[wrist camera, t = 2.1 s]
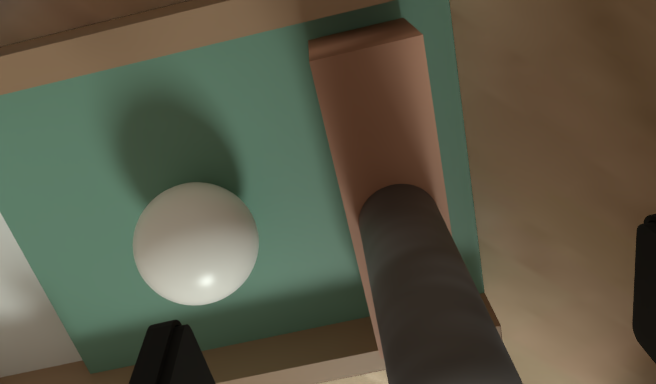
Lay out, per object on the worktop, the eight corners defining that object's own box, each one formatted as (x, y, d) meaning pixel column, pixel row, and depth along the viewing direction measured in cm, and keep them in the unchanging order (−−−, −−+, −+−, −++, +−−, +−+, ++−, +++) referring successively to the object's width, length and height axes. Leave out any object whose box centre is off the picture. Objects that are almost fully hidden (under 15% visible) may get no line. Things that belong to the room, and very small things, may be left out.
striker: (403, 17, 17) (521, 121, 8) (446, 288, 21) (552, 555, 12) (308, 40, 17) (314, 168, 8) (370, 304, 21) (420, 578, 12)
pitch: (431, -59, 17) (488, -53, 12) (476, 290, 24) (527, 398, 18) (-228, 103, 19) (-441, 173, 13) (-25, 394, 25) (-116, 523, 19)
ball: (244, 151, 19) (231, 205, 15) (275, 248, 20) (269, 317, 17) (133, 177, 19) (93, 235, 15) (172, 271, 21) (145, 343, 17)
